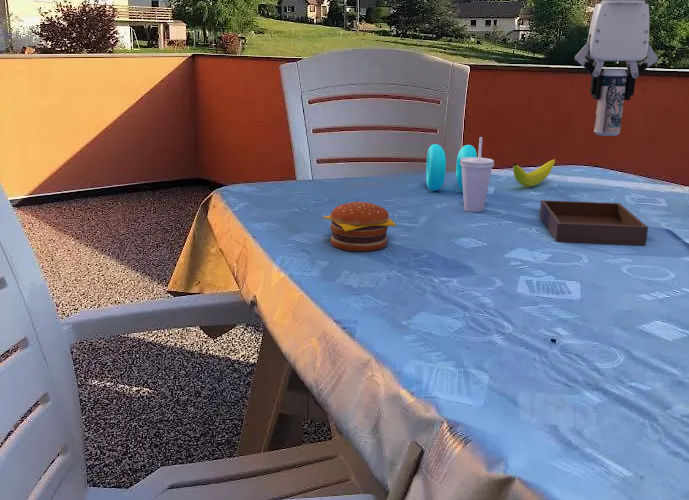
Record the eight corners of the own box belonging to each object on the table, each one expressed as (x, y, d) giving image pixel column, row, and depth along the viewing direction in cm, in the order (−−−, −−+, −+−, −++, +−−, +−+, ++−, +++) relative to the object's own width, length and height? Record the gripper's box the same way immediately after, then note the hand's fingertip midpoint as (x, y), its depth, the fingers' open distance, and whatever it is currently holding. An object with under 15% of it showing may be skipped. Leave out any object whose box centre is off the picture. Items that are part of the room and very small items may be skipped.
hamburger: (347, 255, 107) (347, 212, 105) (320, 239, 115) (320, 199, 113) (400, 248, 111) (401, 206, 109) (371, 233, 119) (371, 194, 117)
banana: (558, 181, 166) (561, 154, 164) (517, 192, 152) (520, 163, 150) (546, 179, 168) (549, 152, 166) (505, 190, 154) (508, 161, 152)
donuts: (424, 185, 158) (427, 140, 155) (469, 186, 158) (472, 141, 155) (428, 195, 149) (430, 147, 146) (476, 196, 148) (479, 148, 145)
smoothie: (474, 215, 132) (479, 140, 128) (450, 208, 137) (454, 136, 133) (497, 210, 136) (503, 137, 132) (473, 204, 141) (478, 133, 137)
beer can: (608, 136, 131) (617, 70, 128) (587, 133, 135) (595, 69, 131) (625, 135, 134) (633, 69, 130) (604, 132, 137) (612, 68, 134)
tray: (617, 219, 131) (619, 203, 130) (645, 245, 115) (648, 227, 114) (539, 216, 132) (540, 200, 131) (555, 241, 116) (557, 223, 115)
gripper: (666, -3, 130) (652, 98, 135) (571, -4, 132) (560, 96, 137) (679, -5, 122) (664, 102, 128) (578, -6, 124) (567, 99, 130)
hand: (610, 98), depth 132 cm, fingers closed on beer can, 4 cm apart
